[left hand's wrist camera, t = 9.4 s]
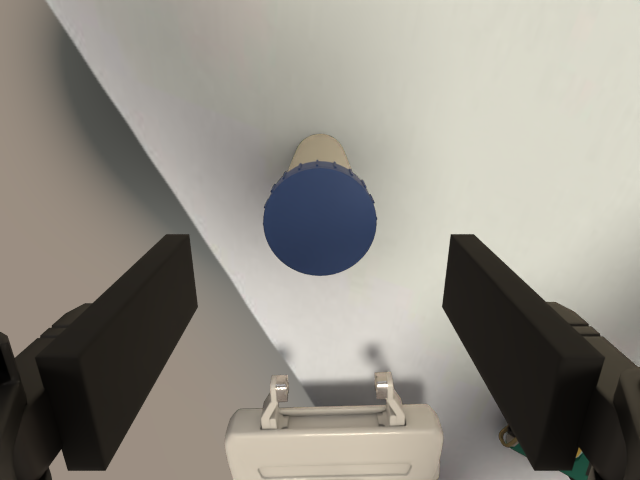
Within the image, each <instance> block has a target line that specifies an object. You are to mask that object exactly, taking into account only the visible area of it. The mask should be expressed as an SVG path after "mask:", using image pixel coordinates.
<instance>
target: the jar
mask: <svg viewBox="0 0 640 480" xmlns="http://www.w3.org/2000/svg"><path fill="white" fill-rule="evenodd" d="M316 160H318V161H326V162H332V163H333V162H336V164H339V165H341V166H343V167H345V168H347V169H349V168H350V169H351V167H350V164H349V162H348V159H347V157H346V154H345V152H344V150H343V147H342V146H341V144H340V143H339V142H338V141H337V140H336V139H334V138H333V137H331V136H329V135H325V134H315V135H311V136H309V137H307V138H306V139H304V140H303V141H302V142H301V143H300V144H299V146H298V147H297V149H296V152H295V154H294V157H293V159H292V162H291V164H290V167H289V169H288V171H290V170H291V169H293V168H295V167H297V166H299V163H302V164H304V163H308V162H313V161H316ZM351 170H352V169H351Z"/></svg>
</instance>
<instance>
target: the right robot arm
mask: <svg viewBox="0 0 640 480" xmlns="http://www.w3.org/2000/svg"><path fill="white" fill-rule="evenodd" d="M375 391H376V397H377V399H386V405H366V406H329V407H293V408H279V405H278V402H287V400H288V392H289V383H288V375H272V377H271V382H270V394H269V395H268V397H267V398H266V400H265V401H264V405H263V408H256V409H239V410H237V411H236V412H235V413H234V415H233V416H232V417H231V419H230V421H229V424H228V427H227V431H226V436H225V451H226V456H227V461H228V465H229V468H230V472H231V475H232V478H233V480H437V479H438V477H439V469H440V460H439V459H440V455H441V451H442V445H443V431H442V428H441V424H440V421H439V419H438V416H437V414H436V412H435V411H434V410H433V409H432V408H431V407H430V406H429V405H427V404H404V405H402V401H401V398H400V397H399V395H398V394H397V393H396V391H395V390H394V388H393V379H392V375H391V372H378V373H375Z"/></svg>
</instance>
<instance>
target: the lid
mask: <svg viewBox="0 0 640 480" xmlns="http://www.w3.org/2000/svg"><path fill="white" fill-rule="evenodd" d="M373 203H374V200H373V198H372V196H371V194H369V193H368V191H367V189H366V185H365V183H364V181H363V180H360V179H359V178H358V177H357V176H356V175H355V174H354V173H353V172H352V170H351V169H350V168H349V169H347V168H345V167H343V166H341V165H339V164H336V162H333V163H332V162H326V161H318V160H316V161H313V162H308V163H304V164H302V163H299V166H297V167H295V168H293V169H291V170H290V171H288V172H285V173H284V175H283V176H282V178H281V179H280V180H279V181H278V182H277V184H274V185H273V187H272V190H271V195H270V197H269V199H268V200H267V202H266V204H265V206H264V208H265V211H264V219H263V225H264V232H265V236H266V239H267V242H268V244H269V246H270V248H271V250H272V251H273V252H274V254H275V255H276V256H277V257H278V258H279V259H280V260H281V261H282V262H283V263H284V264H285V265H287V266H288V267H290V268H292V269H294V270H296V271H298V272H301V273H304V274H308V275H316V276H324V275H332V274H336V273H339V272H342V271H344V270H346V269H348V268H350V267H351V266H353V265H354V264H356V263H357V262H358V261H359V260H360V259H361V258H362V257H363V256H364V255H365V254H366V252H367V251H368V249H369V248H370V246H371V244H372V242H373V239H374V236H375V232H376V220H377V217H376V212H375V208H374V204H373Z"/></svg>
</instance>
